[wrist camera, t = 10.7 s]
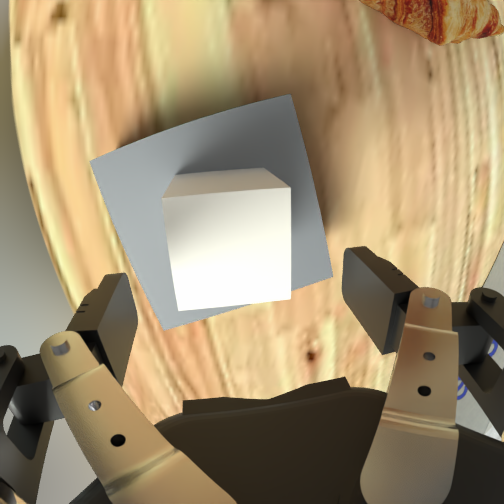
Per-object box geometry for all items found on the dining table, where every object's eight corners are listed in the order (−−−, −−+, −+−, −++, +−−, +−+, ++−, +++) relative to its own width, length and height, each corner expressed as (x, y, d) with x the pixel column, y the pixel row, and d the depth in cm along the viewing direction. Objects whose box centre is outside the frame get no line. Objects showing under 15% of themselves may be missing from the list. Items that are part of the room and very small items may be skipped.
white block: (263, 167, 18) (290, 187, 12) (266, 249, 20) (290, 298, 14) (174, 175, 17) (161, 198, 12) (184, 257, 19) (178, 311, 14)
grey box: (269, 100, 22) (290, 93, 17) (307, 244, 27) (333, 276, 21) (115, 152, 22) (89, 161, 16) (170, 288, 27) (163, 330, 21)
